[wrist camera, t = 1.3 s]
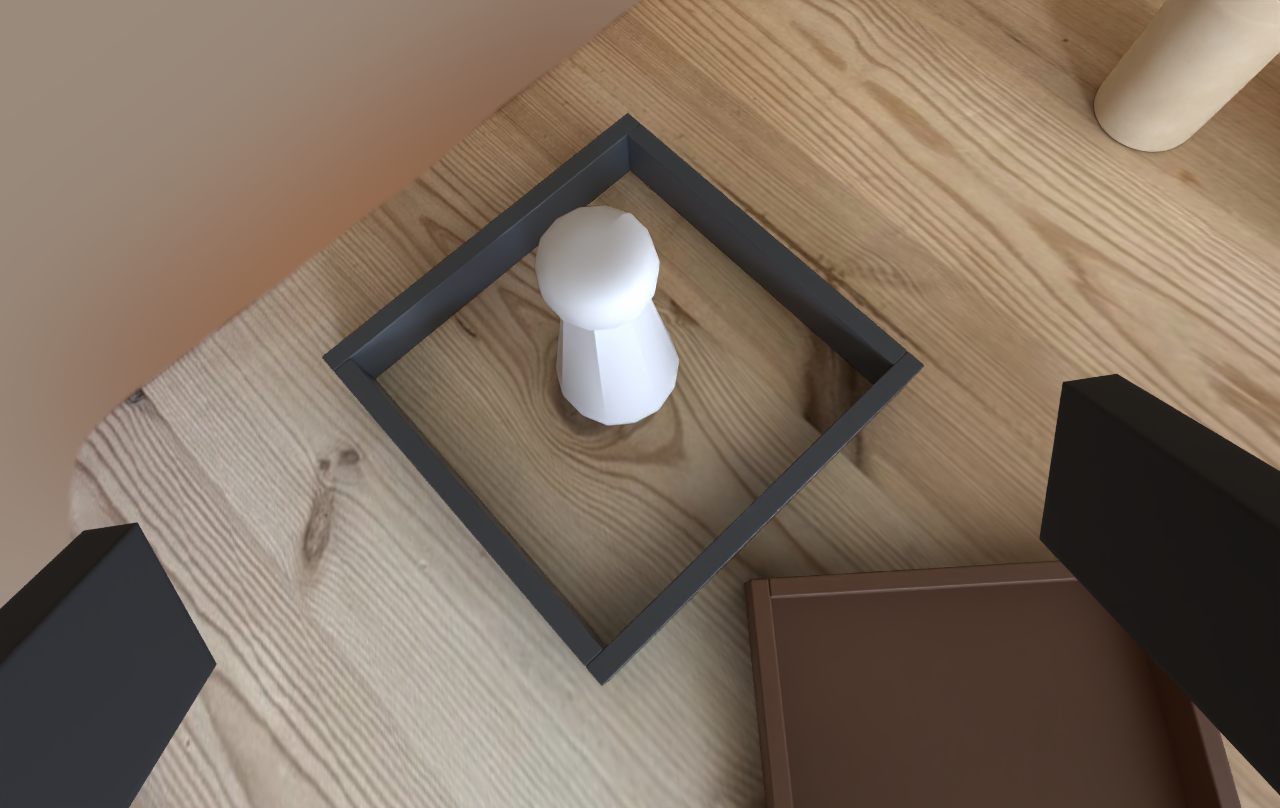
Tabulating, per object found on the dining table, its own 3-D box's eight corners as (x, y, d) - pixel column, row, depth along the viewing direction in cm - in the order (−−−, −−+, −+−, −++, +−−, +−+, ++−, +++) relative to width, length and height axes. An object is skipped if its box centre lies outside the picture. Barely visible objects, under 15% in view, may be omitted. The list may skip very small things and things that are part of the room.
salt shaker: (692, 419, 35) (703, 301, 23) (581, 452, 35) (531, 351, 22) (658, 317, 37) (651, 156, 24) (552, 347, 36) (491, 200, 24)
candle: (1168, 170, 38) (1333, 16, 29) (1074, 121, 39) (1202, -42, 30) (1212, 102, 39) (1384, -67, 30) (1119, 57, 41) (1256, -119, 31)
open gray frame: (608, 681, 31) (601, 686, 28) (348, 378, 36) (321, 357, 34) (904, 387, 35) (925, 365, 32) (630, 149, 40) (627, 112, 37)
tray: (784, 993, 28) (795, 1028, 25) (743, 583, 32) (749, 579, 30) (1242, 972, 27) (1299, 1006, 25) (1131, 560, 32) (1169, 553, 30)
